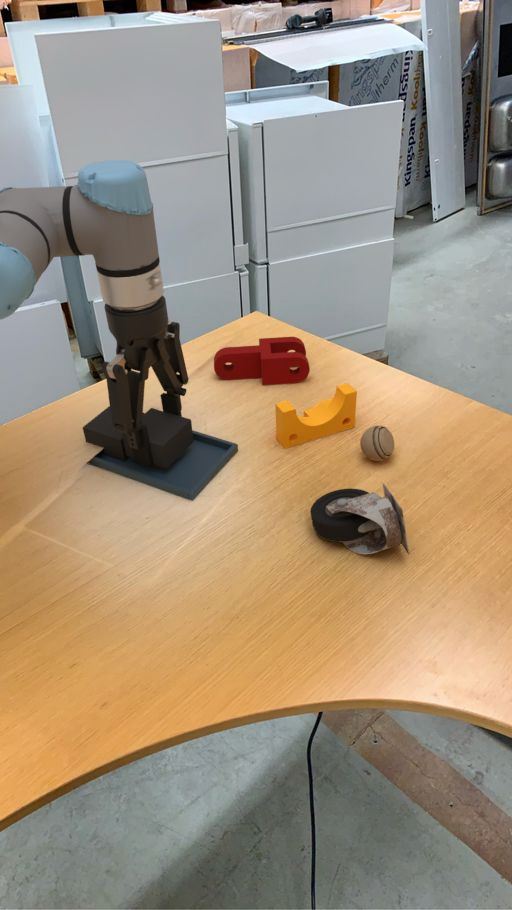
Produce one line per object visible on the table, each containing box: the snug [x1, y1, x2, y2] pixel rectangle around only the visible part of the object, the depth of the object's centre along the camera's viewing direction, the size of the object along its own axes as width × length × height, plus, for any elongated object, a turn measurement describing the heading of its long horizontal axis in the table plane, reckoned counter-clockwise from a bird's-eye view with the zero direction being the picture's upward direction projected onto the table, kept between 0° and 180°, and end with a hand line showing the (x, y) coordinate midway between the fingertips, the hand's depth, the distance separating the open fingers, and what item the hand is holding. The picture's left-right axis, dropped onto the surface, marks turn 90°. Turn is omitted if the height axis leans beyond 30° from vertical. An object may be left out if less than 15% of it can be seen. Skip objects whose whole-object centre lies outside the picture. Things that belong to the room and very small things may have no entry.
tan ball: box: [359, 425, 395, 462], centre depth 92 cm, size 5×5×5 cm
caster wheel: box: [309, 482, 410, 555], centre depth 80 cm, size 7×11×10 cm
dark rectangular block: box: [122, 407, 194, 469], centre depth 93 cm, size 7×7×4 cm
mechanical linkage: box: [213, 336, 311, 386], centre depth 112 cm, size 16×7×5 cm, turn 93°
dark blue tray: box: [86, 429, 239, 502], centre depth 95 cm, size 21×12×2 cm, turn 61°
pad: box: [82, 405, 146, 462], centre depth 97 cm, size 7×7×4 cm
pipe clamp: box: [274, 382, 358, 450], centre depth 98 cm, size 12×4×6 cm, turn 114°
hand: (160, 447), depth 94 cm, fingers closed on dark rectangular block, 7 cm apart
